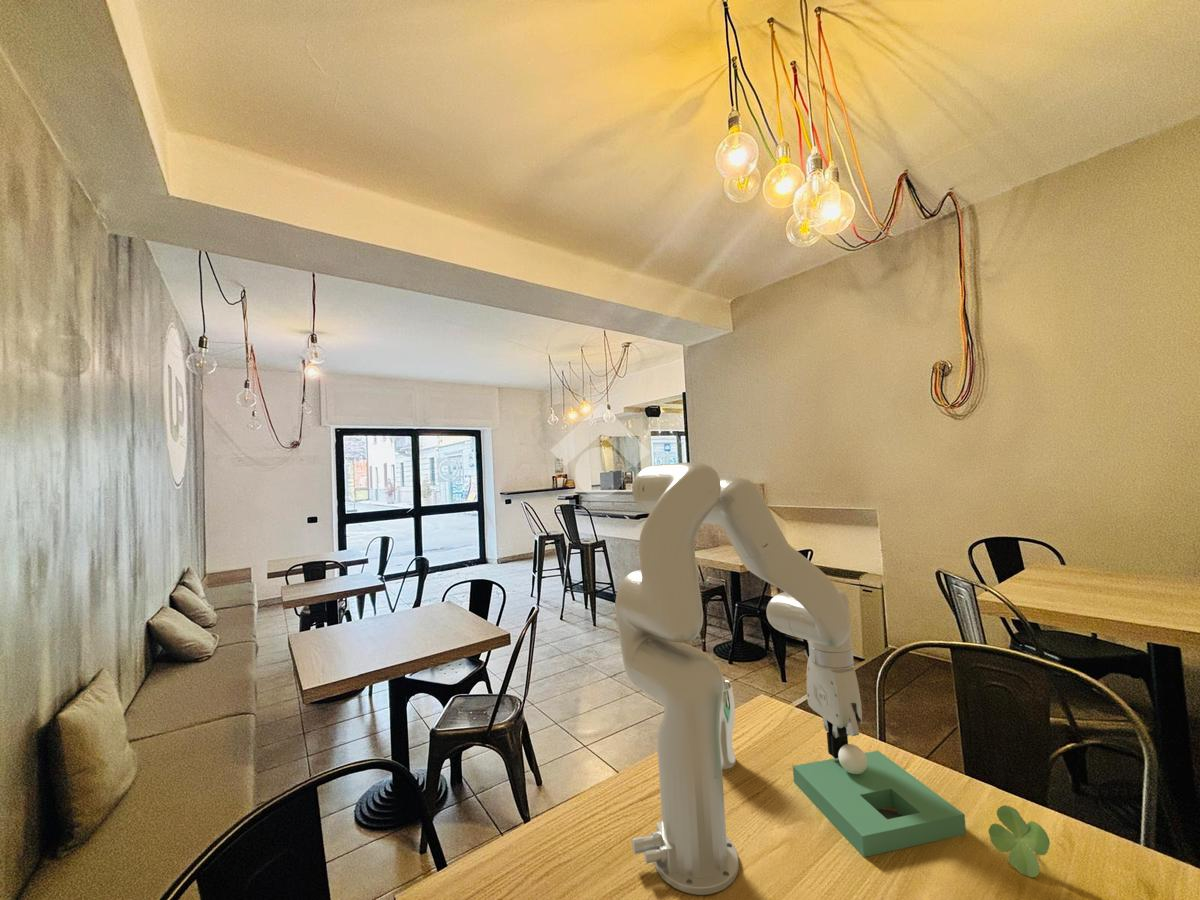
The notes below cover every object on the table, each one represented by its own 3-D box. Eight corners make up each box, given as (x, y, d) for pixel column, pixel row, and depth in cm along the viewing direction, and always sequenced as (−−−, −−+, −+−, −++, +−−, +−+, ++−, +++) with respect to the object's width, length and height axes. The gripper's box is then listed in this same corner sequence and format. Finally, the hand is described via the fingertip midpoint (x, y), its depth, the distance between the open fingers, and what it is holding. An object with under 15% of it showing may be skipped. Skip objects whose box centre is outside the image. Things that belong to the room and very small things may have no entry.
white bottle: (710, 747, 102) (706, 674, 103) (743, 757, 98) (738, 681, 99) (696, 764, 97) (692, 687, 98) (730, 775, 93) (725, 695, 93)
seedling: (1010, 877, 72) (996, 870, 69) (993, 811, 77) (980, 802, 74) (1073, 887, 68) (1062, 882, 65) (1051, 817, 73) (1039, 808, 70)
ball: (848, 782, 85) (849, 757, 84) (832, 763, 89) (833, 739, 89) (872, 779, 85) (873, 754, 85) (855, 760, 90) (856, 737, 90)
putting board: (863, 857, 72) (862, 836, 72) (793, 782, 90) (792, 765, 90) (966, 834, 75) (964, 814, 75) (879, 766, 93) (878, 750, 93)
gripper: (789, 644, 98) (796, 737, 98) (840, 673, 84) (849, 783, 83) (822, 639, 100) (829, 731, 99) (878, 667, 85) (887, 774, 85)
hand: (838, 754), depth 91 cm, fingers closed
